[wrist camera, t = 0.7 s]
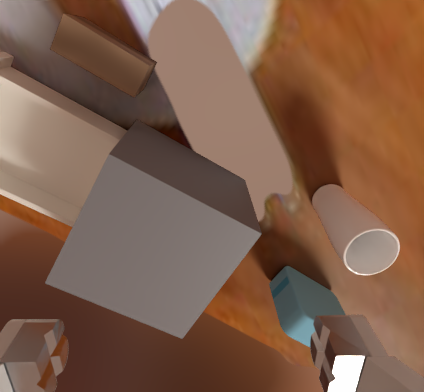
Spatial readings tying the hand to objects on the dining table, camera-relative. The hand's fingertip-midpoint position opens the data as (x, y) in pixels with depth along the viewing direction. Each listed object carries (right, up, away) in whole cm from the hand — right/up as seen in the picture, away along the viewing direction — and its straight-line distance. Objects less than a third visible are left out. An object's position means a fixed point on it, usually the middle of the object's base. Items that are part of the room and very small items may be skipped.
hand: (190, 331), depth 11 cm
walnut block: (-12, +23, +32) cm, 41 cm away
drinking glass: (+19, +4, +42) cm, 46 cm away
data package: (+17, -12, +49) cm, 53 cm away
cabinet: (-7, +4, +41) cm, 42 cm away
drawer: (-22, +12, +36) cm, 44 cm away
